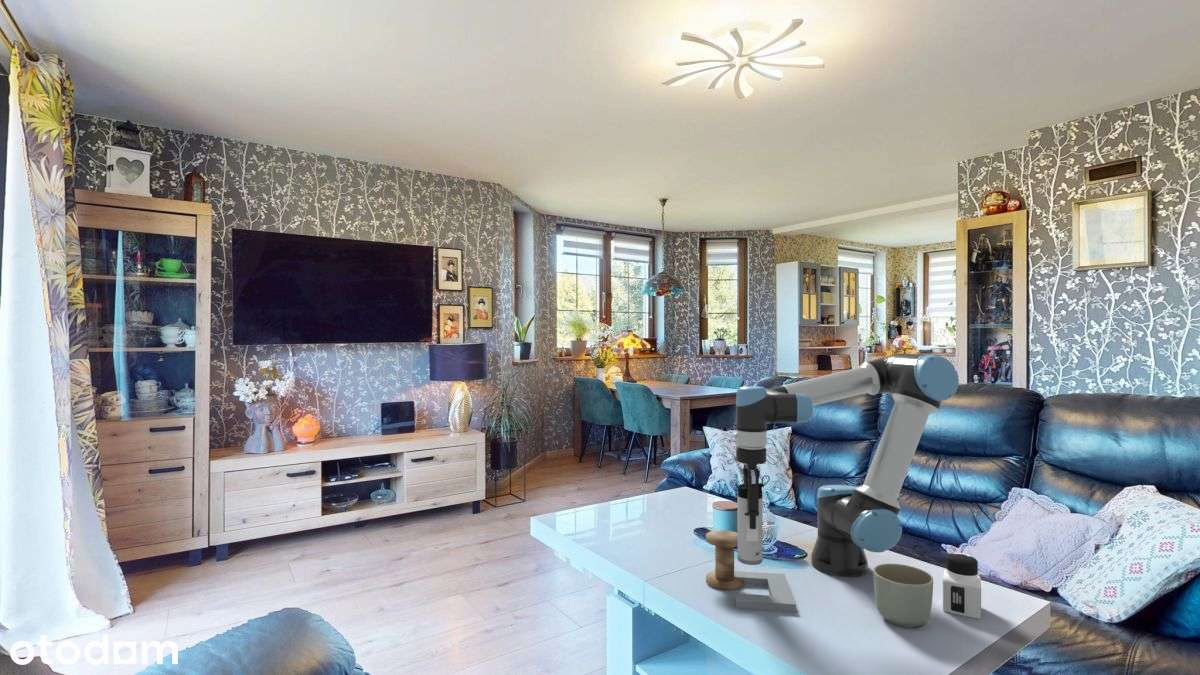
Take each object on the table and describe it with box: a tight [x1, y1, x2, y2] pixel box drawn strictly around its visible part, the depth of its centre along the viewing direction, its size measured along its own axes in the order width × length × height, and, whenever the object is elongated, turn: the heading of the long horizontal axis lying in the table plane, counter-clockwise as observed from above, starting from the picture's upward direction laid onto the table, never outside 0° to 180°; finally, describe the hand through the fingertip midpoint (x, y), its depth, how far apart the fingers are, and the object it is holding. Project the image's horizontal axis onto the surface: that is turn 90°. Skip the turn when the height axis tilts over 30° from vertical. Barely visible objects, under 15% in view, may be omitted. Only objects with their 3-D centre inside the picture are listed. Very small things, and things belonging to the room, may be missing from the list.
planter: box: [872, 563, 934, 628], centre depth 136 cm, size 12×12×11 cm
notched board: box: [734, 570, 797, 614], centre depth 150 cm, size 14×18×2 cm
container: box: [942, 552, 982, 620], centre depth 142 cm, size 8×8×13 cm
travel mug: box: [736, 482, 765, 566], centre depth 150 cm, size 6×7×20 cm
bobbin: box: [705, 529, 745, 591], centre depth 158 cm, size 10×10×12 cm
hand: (750, 535), depth 150 cm, fingers closed on travel mug, 6 cm apart
